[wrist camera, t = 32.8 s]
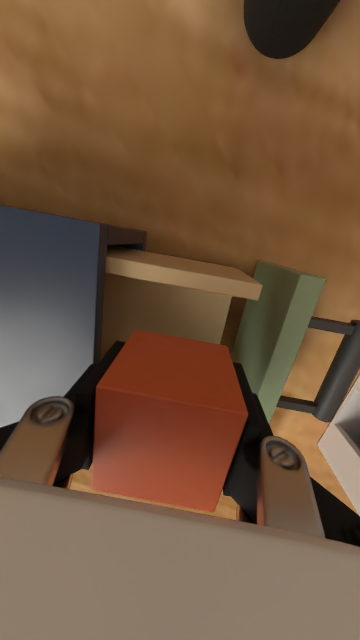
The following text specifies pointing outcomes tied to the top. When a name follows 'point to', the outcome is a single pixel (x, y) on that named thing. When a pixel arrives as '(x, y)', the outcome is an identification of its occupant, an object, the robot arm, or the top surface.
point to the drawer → (211, 313)
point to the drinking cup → (285, 24)
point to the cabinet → (50, 302)
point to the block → (167, 421)
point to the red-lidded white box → (345, 445)
